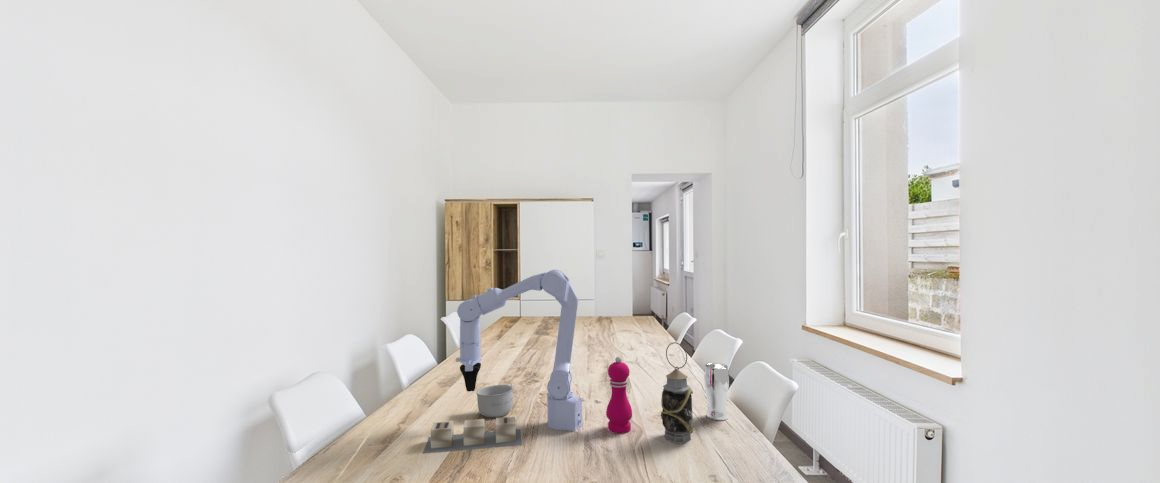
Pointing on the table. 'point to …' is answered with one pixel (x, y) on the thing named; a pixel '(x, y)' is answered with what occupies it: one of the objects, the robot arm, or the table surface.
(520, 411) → the table surface
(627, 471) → the table surface
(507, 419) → the marked block one
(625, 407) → the pepper mill
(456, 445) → the mat
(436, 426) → the marked block two
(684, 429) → the lantern
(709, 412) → the silver tall cylinder
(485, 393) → the teacup
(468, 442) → the plain block
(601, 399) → the table surface
